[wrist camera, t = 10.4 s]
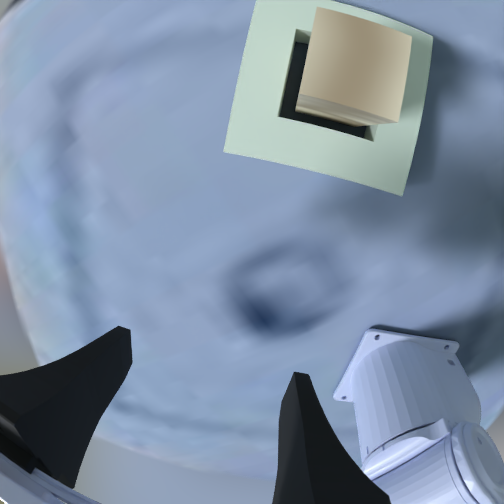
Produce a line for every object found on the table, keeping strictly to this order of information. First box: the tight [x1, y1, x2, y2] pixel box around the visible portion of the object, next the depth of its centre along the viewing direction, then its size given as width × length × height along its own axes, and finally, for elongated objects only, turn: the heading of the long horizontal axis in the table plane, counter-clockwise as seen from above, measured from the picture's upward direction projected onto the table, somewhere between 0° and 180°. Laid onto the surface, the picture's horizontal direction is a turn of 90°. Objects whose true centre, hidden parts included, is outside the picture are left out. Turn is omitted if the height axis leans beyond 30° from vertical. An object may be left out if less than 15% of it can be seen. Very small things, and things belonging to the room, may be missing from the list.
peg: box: [295, 7, 412, 127], centre depth 12 cm, size 4×4×8 cm
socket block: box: [224, 0, 433, 196], centre depth 14 cm, size 10×10×2 cm
